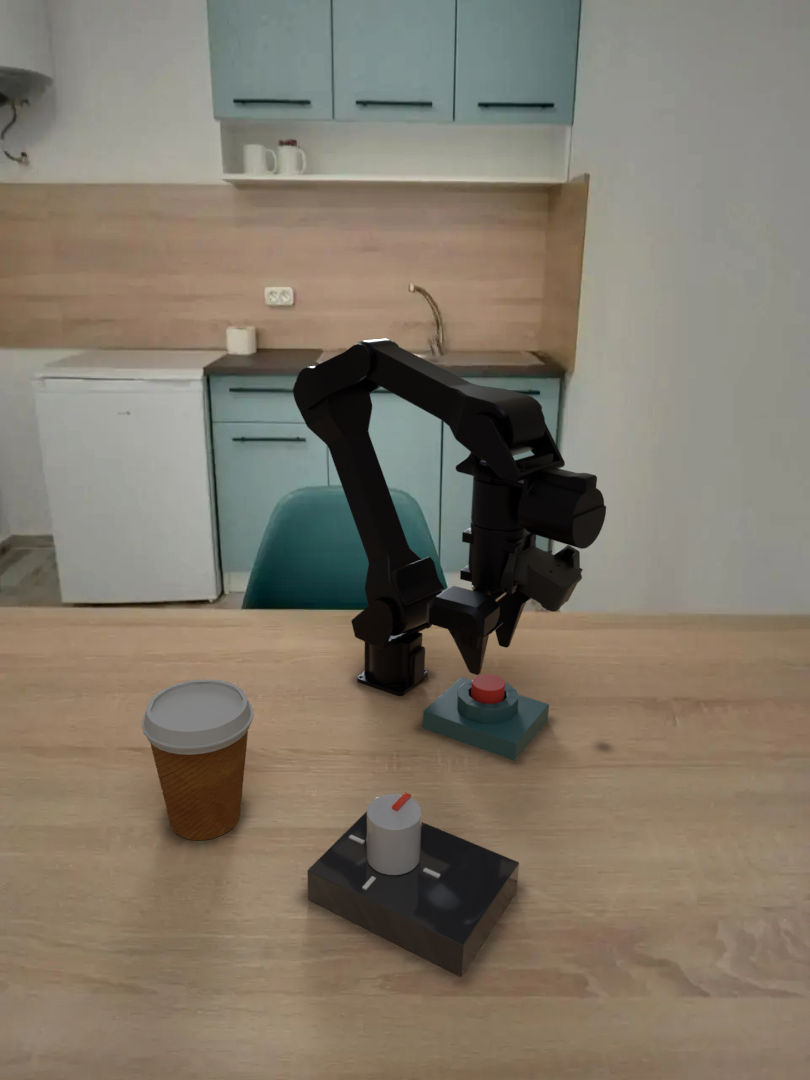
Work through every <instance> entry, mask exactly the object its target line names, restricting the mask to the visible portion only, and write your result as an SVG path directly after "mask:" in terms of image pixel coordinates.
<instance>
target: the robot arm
mask: <svg viewBox="0 0 810 1080" xmlns="http://www.w3.org/2000/svg"><path fill="white" fill-rule="evenodd" d="M295 379H296V380H295V382H294V385H293V388H292V394H293V399H294V402H295V405H296V407H297V409H298V411H299V413H300V415H301V417H302V419H303V420H304V423H305V425H306V427H307V428H308V429H309V430H310V431H311V432H312V434H314V435H315V436H317V437H318V439H320V440H321V441H322V442H323V443H324V444H325V445H326V446H327V448H328V450H329V453H330V457H331V459H332V461H333V464H334V467H335V470H336V472H337V476H338V479H339V481H340V485H341V487H342V490H343V493H344V496H345V499H346V501H347V504H348V507H349V509H350V513H351V516H352V518H353V521H354V524H355V527H356V529H357V532H358V536H359V539H360V541H361V544H362V547H363V549H364V553H365V555H366V558H367V562H368V566H367V570H366V571H367V572H366V578H365V585H364V593H365V596H366V602H367V606H366V607H365V608H364V609H363V610H361V612H359V613H358V614H357V615H356V616H355V617H353V618H352V619H351V622H350V623H351V626H352V630H353V634H354V637H355V638H356V639H358V640H360V641H363V642H364V657H363V658H364V664H363V666H364V670H363V671H362V672H361V673H359V674H358V675H357V676H356V681H357V682H358V683H361V684H363V685H367V686H369V687H373V688H376V689H379V690H381V691H384V692H388V693H391V694H394V695H396V696H404V695H405V694H406V693H407V692H409V691H410V690H411V689H412V688H414V687H415V686H416V685H417V684H418V683H419V682H421V681H422V680H423V679H425V677H427V675H428V669H426V668H425V667H426V665H425V664H426V648H425V646H423V633H422V631H424V630H428V629H430V628H432V626H435V627H438V628H442V629H445V630H447V631H448V632H449V634H450V635H451V637H452V640H453V641H454V643H455V645H456V647H457V649H458V651H459V653H460V656H461V657H462V660H463V662H464V664H465V665H466V668H467V669H468V673H470V674H472V675H476V676H478V675H481V672H482V668H483V664H484V661H485V656H486V652H487V646H488V641H489V636H490V635H491V634H493V633H494V632H495V635H496V639H497V643H498V646H499V647H502V648H505V649H507V648H509V647H510V645H511V643H512V640H513V637H514V635H515V632H516V630H517V627H518V624H519V622H520V619H521V616H522V613H523V611H524V609H525V606H526V604H527V602H528V601H530V600H534V601H535V602H537V603H538V604H540V605H541V607H542V608H543V609H545V610H546V611H549V612H558V611H559V610H560V609H561V608H562V607H563V606H564V604H566V603H567V602H568V601H569V600H570V599H571V597H572V594H573V592H574V591H575V589H576V588H577V585H578V583H580V582H581V580H583V575H582V573H583V568H582V567H581V558H580V557H581V554H580V551H579V550H578V549H581V550H582V549H587V548H589V547H590V546H591V545H593V543H594V542H595V541H596V540H597V539H598V536H599V535H600V533H601V531H602V529H603V525H604V523H605V520H606V515H607V506H606V505H605V498H604V495H603V493H602V491H601V490H600V489H599V488H597V484H598V476H597V475H596V474H592V473H588V472H575V471H570V470H566V469H563V468H564V467H565V465H566V463H565V460H564V458H563V456H562V454H561V452H560V449H559V447H558V446H557V443H556V442H555V439H554V438H553V435H552V433H551V432H550V429H549V427H548V425H547V423H546V418H545V415H544V412H543V405H541V403H540V401H538V400H537V399H536V398H534V397H533V396H531V395H529V394H526V393H522V392H518V391H514V390H510V389H506V388H502V387H493V386H487V385H480V384H476V383H472V382H470V381H468V380H466V379H464V378H462V377H460V376H458V375H456V374H454V373H452V372H450V371H448V370H446V369H444V368H442V367H440V366H438V365H436V364H434V363H432V362H430V361H428V360H426V359H425V358H422V357H420V356H418V355H416V354H414V353H412V352H411V351H408V350H406V349H405V348H402V347H400V346H399V344H398V343H397V342H395V341H394V340H391V339H389V338H379V339H368V340H361V341H358V342H356V343H355V344H353V345H352V346H350V347H349V348H348V349H347V350H345V351H343V352H341V353H339V354H337V355H335V356H333V357H331V358H329V359H326V360H325V361H322V362H320V363H318V364H317V365H313V366H306V367H304V368H302V369H301V370H300V371H299V372H298V375H297V377H296V378H295ZM380 388H383V389H385V390H386V391H388V392H389V393H392V394H393V395H395V396H397V397H398V398H401V399H402V400H404V401H406V402H408V403H410V404H412V405H414V406H415V407H417V408H419V409H421V410H422V411H425V412H427V413H428V414H430V415H432V416H433V417H435V418H438V419H439V420H441V421H442V422H444V424H446V425H447V426H448V427H449V429H450V432H451V433H452V435H453V437H454V439H455V441H456V442H458V443H459V444H460V445H461V446H463V447H464V448H465V449H467V450H468V451H469V452H470V453H469V454H468V456H467V457H466V458H464V459H463V460H461V461H460V462H459V463H458V464H456V465H455V471H456V472H458V473H461V474H464V475H469V476H472V493H471V510H470V525H469V526H470V527H469V528H467V529H466V530H464V531H463V532H462V533H461V543H466V544H469V547H468V561H467V562H468V564H467V565H466V566H465V567H463V568H461V569H460V571H459V573H460V575H459V580H461V581H466V582H470V583H471V589H468V588H464V587H460V586H457V585H450V586H449V587H447V588H446V589H445V586H444V585H443V583H442V582H441V580H440V578H439V575H438V572H437V568H436V564H435V561H434V560H433V558H432V557H430V556H427V557H425V558H421V557H420V556H419V555H418V554H417V553H415V552H414V551H413V549H411V547H410V545H409V544H408V539H407V537H406V535H405V532H404V529H403V526H402V523H401V520H400V517H399V515H398V512H397V510H396V507H395V504H394V500H393V498H392V494H391V492H390V489H389V486H388V484H387V482H386V478H385V475H384V472H383V470H382V469H383V468H382V467H381V465H380V461H379V458H378V455H377V453H376V449H375V447H374V444H373V442H372V439H371V438H372V437H371V435H370V431H369V430H370V424H371V418H372V412H373V403H372V398H371V394H372V393H374V392H375V391H377V390H379V389H380ZM529 452H531V453H532V455H528V456H525V457H521V458H519V459H515V458H514V457H515V456H518V455H521V454H525V453H529ZM561 468H562V469H561ZM537 536H538V537H541V538H544V539H548V540H551V541H553V542H558V543H561V544H564V545H565V546H564V547H562V548H560V549H559V550H557V551H556V552H555V553H554V554H552V553H553V550H552V549H547V550H543V549H542V548H539V547H537ZM576 548H577V549H576Z"/></svg>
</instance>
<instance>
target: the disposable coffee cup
mask: <svg viewBox="0 0 810 1080" xmlns="http://www.w3.org/2000/svg"><path fill="white" fill-rule="evenodd" d="M253 719H254V708H253V705H252V703H251V702H250V701H249V700H248V697H247V693H246V692H245V691H244V690H243V689H242V688H241V687H239V686H238V685H236V684H234V683H232V682H230V681H225V680H221V679H213V678H201V679H192V680H185V681H182V682H178V683H176V684H173V685H170V686H168V687H165V688H163V689H162V690H160V691H159V692H157V693H155V694H154V695H152V697H151V698H150V699H149V701H148V703H147V705H146V709H145V712H144V714H143V715H142V719H141V729H142V733H143V735H144V736H145V737H146V739H147V741H148V742H149V744H150V748H151V751H152V756H153V761H154V764H155V768H156V772H157V776H158V780H159V784H160V789H161V791H162V797H163V800H164V804H165V808H166V812H167V816H168V820H169V823H170V828H171V829H172V831H173V832H174V833H175V834H176V835H177V836H179V837H181V838H184V839H186V840H191V841H203V840H205V841H206V840H211V839H215V838H217V837H221V836H222V835H224V834H226V833H228V832H230V831H231V830H233V828H234V827H235V826H236V825H237V824H238V823H239V820H240V817H241V809H242V799H243V787H244V779H245V777H244V776H245V767H246V766H245V765H246V756H247V745H248V734H249V729H250V727H251V724H252V722H253Z"/></svg>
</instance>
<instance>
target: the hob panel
mask: <svg viewBox="0 0 810 1080" xmlns="http://www.w3.org/2000/svg"><path fill="white" fill-rule="evenodd" d="M366 847H367V810H366V811H365V812H364V813H363V814H362V815H361V816H360V817H359V818H358V819H357V820H356V821H355V822H354V823H353V824H352V825H351V826H350V827H349V828H348V829H347V830H346V831H345V832H344V833H343V834H342V835H341V836H340V837H339V838H338V839H337V840H336V841H335V842H334V843H333V844H332V845H331V846H330V847H329V848H328V849H327V850H326V851H325V852H324V853H323V854H322V855H321V856H320V857H319V858H318V859H317V860H316V861H315V862H314V863H313V864H312V865H311V866H310V867H309V868H308V869H307V870H306V872H307V900H308V901H310V902H312V903H314V904H316V905H318V906H320V907H322V908H324V909H326V910H328V911H330V912H332V913H334V914H336V915H338V916H340V917H342V918H344V919H346V920H348V921H350V922H352V923H354V924H357V925H358V926H360V927H362V928H364V929H365V930H368V931H370V932H372V933H374V934H376V935H378V936H379V937H382V938H384V939H386V940H387V941H389V942H392V943H393V944H396V945H397V946H399V947H402V948H403V949H405V950H407V951H409V952H412V953H413V954H416V955H417V956H419V957H421V958H423V959H425V960H427V961H429V962H431V963H433V964H434V965H437V966H439V967H441V968H443V969H444V970H447V971H449V972H451V973H453V974H455V975H457V976H459V977H462V976H463V975H464V974H465V972H466V970H467V969H468V967H469V966H470V964H471V962H472V961H473V960H474V958H475V956H476V955H477V953H478V952H479V950H480V948H481V947H482V946H483V944H484V943H485V941H486V939H487V938H488V936H489V935H490V933H491V932H492V930H493V929H494V927H495V925H496V924H497V922H498V921H499V919H500V918H501V916H502V914H503V913H504V912H505V911H506V908H507V907H508V905H509V904H510V902H511V901H512V899H513V897H514V896H515V894H516V893H517V891H518V880H519V868H520V862H519V861H517V860H515V859H512V858H511V857H508V856H505V855H503V854H500V853H497V852H495V851H493V850H490V849H488V848H485V847H484V846H482V845H479V844H476V843H474V842H471V841H469V840H466V839H464V838H463V837H459V836H457V835H455V834H452V833H450V832H447V831H445V830H442V829H440V828H437V827H436V826H432V825H430V824H428V823H425V822H423V821H422V823H421V850H420V861H419V863H418V865H417V866H416V867H415V868H414V869H413V870H411V871H410V872H407V873H405V874H401V875H386V874H382V873H380V872H378V871H376V870H374V869H373V868H372V867H371V866H370V865H369V863H368V861H367V857H366Z"/></svg>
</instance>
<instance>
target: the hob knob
mask: <svg viewBox="0 0 810 1080" xmlns="http://www.w3.org/2000/svg"><path fill="white" fill-rule="evenodd" d="M366 811H367V847H366V857H367V861H368V863H369V865H370V866H371V867H372V868H373V869H374V870H376V871H378V872H380V873H382V874H386V875H401V874H405V873H407V872H410V871H411V870H413V869H414V868H415V867H416V866H417V865H418V863H419V861H420V850H421V823H422V822H423V810H422V807H421V805H420V803H419V802H418V801H417V800H416V799H414V798H412V794H411V793H408V792H406V791H405V792H404V793H403V794H402V793H386V794H383V795H379V796H377V797H376V798H374V799H372V801H370V803H369V804H368V805H367V808H366Z"/></svg>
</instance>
